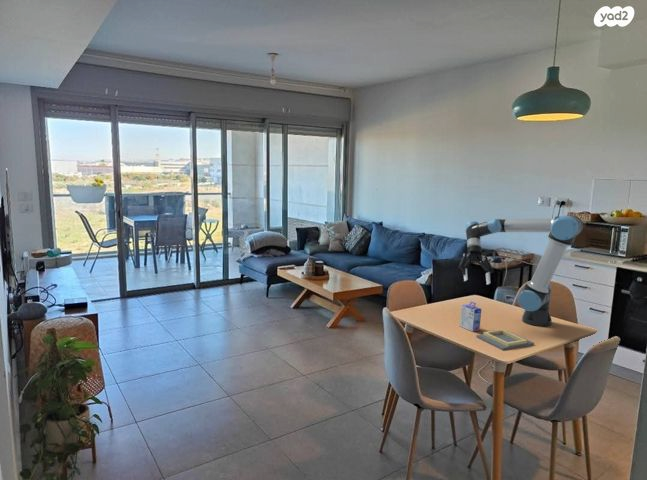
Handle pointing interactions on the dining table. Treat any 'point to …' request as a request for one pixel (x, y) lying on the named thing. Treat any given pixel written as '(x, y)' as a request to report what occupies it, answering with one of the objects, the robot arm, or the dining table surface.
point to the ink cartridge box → (470, 317)
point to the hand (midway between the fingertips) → (477, 282)
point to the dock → (504, 339)
